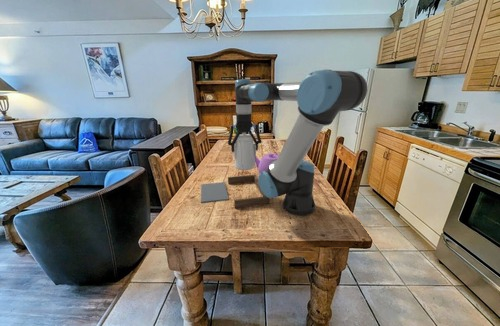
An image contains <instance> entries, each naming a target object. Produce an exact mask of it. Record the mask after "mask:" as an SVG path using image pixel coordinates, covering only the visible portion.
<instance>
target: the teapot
mask: <svg viewBox="0 0 500 326" xmlns="http://www.w3.org/2000/svg"><path fill="white" fill-rule="evenodd" d="M278 156H279V154H277V153H276V152H274V153H272V152H269V153H268V154H267V153H266V154H264V155H263V156H262V157H261V158H260V159H259V158H258V157H257V155H256V157H255V167H256V168H257V171H258V173H259V174H260V173H261V172H263V171H267V170H268V168H269V166H270V164H271V163H272V162H273V161H275V160H277V158H278Z"/></svg>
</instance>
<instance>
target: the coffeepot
mask: <svg viewBox="0 0 500 326" xmlns="http://www.w3.org/2000/svg"><path fill="white" fill-rule="evenodd" d="M253 144H254V141H253V138H252V137H251V135H250V134H247V132H244V133H241V134H240V135H239V137H238V138H237V140H236V143H235V146H236V159H235V158H234V168H235V169H237V170H240V171H250V170H253V169H254V168H255V167H256V163H255V157H254V145H253Z"/></svg>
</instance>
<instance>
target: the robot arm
mask: <svg viewBox="0 0 500 326" xmlns="http://www.w3.org/2000/svg"><path fill="white" fill-rule="evenodd" d="M234 85H235V86H234V91H235V113H236V114H235V116H236V118H235V119H236V123H235V124H230V126H229V127H230V132H229V136H228V139H227V144H228V146H231V152H232V153H233V158H234V160H235V159H236V146H235V143H236V140H237V138H238V137H239V135H241V134H242V133H244V132H246V133H248V135H251V137H252V138H253V145H254V157H256V156H257V151H259V144H261V143H262V139H261V136H260V135H261V134H260V132H259V124H258V123H253V122H252V121H253V119H252V102H255V103H256V102H257V103H258V102H259V103H260V102H267V101H283V102H284V101H286V102H287V101H289V102H297V110H298V113H299V115H298V116H297V119H296V120H295V123H294V125H293V127H292V129H291V130H290V132H289V135H288V137H287V139H286V141H285V143H284V145H283V146H282V149H281V150H280V153H279V154H278V158H277V160H275V161H273V162H272V163H271V164H270V166H269V168H268V170H267V171H263V172H261V173H259V174H258V176H257V178H258V181H259V185H260V188H261V190H262V192H263V194H264V195H265V196H266V197H268V198H270V199H274V198H275V199H276V198H279V197H281V196H284V197H283V200H282V208H283V210H284V212H287V213H289V214H291V215H294V216H308V215H312V214H313V213H314V212H315V210H316V202H315V199H314V195H313V191H314V180H315V165H314V164H313V163H312V162H310V161H308V160H305V157H306V156H307V154H308V152H309V151H310V149H311V148H312V146H313V145H314V143H315V141H316V139H317V138H318V136H319V135H320V133H321V131H322V130H323V128H324V127H326V126H330V125H331V124H332V123H333V122H334V120H335V119H336V118H337V116H338V114H339V113H340V112H345V111H346V112H347V111H351V110H353V109H355V108H356V109H357V107H359V106H360V105H361V104H362V103H363V102H364V100H365V99H366V98H367V94H368V83H367V80H366V79H365V77H364V76H363V75H362V74H360V73H359V72H357V71H350V70H333V69H322V70H320V69H319V70H314V71H312V72H310V73H308V74H307V75H306V76H305V77H303V79H302V80H301V81H295V82H278V83H277V82H275V83H274V82H273V83H266V82H264V83H263V82H254V83H252V81H251V79H248V78H247V79H246V78H245V79H236V80H235V82H234ZM252 128H254V131H255V135H254V133H253V132H252V130H251V129H252ZM235 129H237V131H236V133H235V135H234V130H235ZM233 135H234V137H233Z"/></svg>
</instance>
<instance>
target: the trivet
mask: <svg viewBox="0 0 500 326" xmlns="http://www.w3.org/2000/svg"><path fill="white" fill-rule="evenodd" d="M228 195H229V193H228V191H227V187H226V182H223V181H222V182H212V183H210V182H209V183H201V185H200V203H201V204H202V203H204V204H205V203H211V202H221V201H229V196H228Z"/></svg>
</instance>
